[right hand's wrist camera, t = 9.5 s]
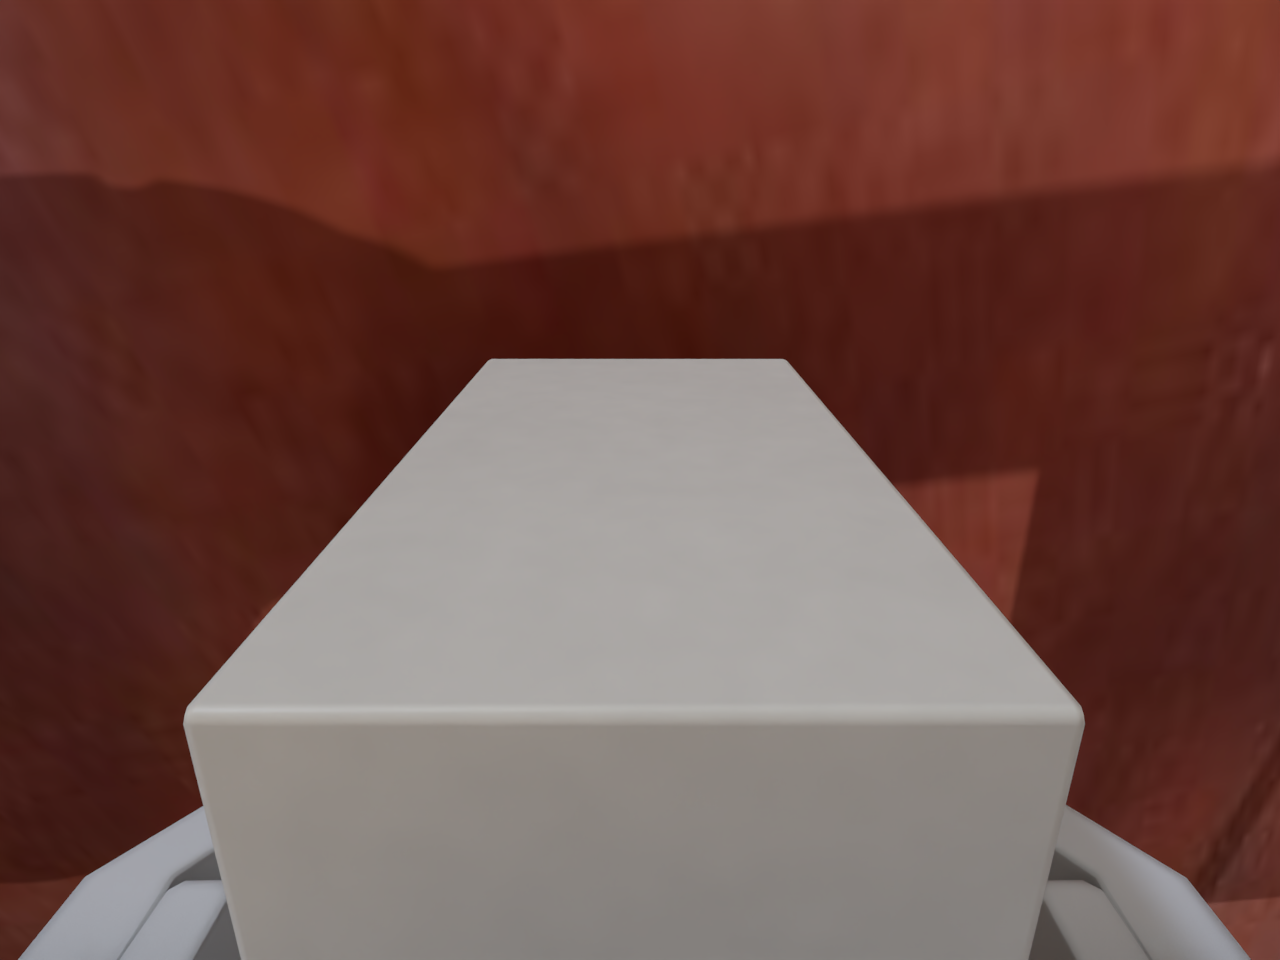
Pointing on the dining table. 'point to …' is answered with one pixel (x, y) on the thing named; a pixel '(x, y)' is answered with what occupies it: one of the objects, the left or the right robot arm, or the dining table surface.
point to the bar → (635, 698)
